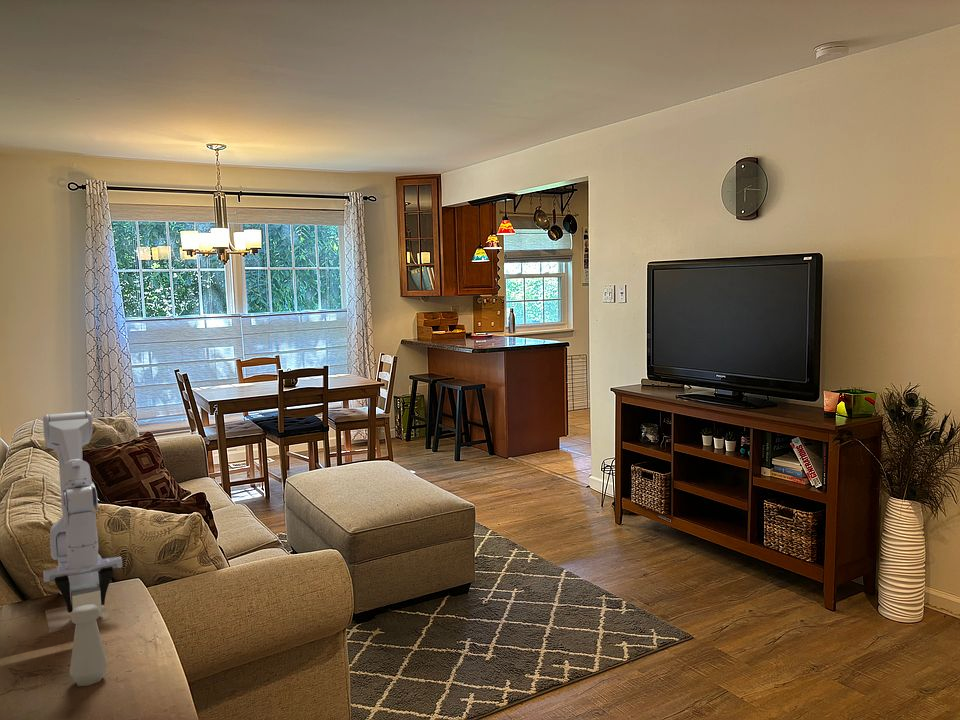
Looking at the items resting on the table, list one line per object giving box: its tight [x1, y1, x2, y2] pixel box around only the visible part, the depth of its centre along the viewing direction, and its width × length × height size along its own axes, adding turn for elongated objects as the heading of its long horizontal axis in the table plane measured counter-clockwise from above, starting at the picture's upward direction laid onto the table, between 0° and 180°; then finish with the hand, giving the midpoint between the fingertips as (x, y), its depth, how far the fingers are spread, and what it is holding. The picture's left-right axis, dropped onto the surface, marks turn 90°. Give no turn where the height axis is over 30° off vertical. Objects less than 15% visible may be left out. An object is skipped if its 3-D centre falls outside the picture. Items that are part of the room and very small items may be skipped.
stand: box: [44, 605, 111, 634], centre depth 156 cm, size 16×11×5 cm
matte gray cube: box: [70, 582, 102, 616], centre depth 153 cm, size 5×5×6 cm
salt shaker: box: [68, 604, 108, 687], centre depth 126 cm, size 6×6×13 cm
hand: (86, 607), depth 153 cm, fingers open, 5 cm apart
